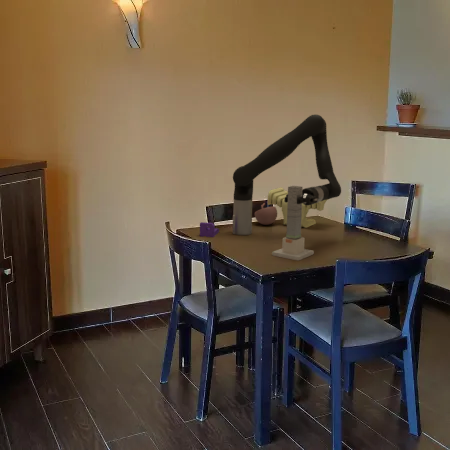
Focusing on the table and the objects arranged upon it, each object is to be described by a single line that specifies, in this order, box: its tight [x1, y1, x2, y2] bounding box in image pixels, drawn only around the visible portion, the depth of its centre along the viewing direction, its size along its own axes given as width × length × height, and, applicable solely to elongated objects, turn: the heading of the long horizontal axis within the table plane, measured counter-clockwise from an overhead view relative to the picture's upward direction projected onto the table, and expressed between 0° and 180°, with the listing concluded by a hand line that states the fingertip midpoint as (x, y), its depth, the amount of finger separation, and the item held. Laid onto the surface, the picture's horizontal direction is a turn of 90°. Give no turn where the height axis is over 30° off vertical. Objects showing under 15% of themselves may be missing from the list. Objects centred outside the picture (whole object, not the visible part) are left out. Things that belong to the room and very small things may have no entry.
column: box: [285, 185, 303, 239], centre depth 245 cm, size 5×5×22 cm
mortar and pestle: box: [254, 202, 278, 226], centre depth 306 cm, size 12×12×12 cm
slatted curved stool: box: [267, 187, 329, 229], centre depth 306 cm, size 30×16×18 cm, turn 58°
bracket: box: [199, 221, 220, 238], centre depth 285 cm, size 12×7×7 cm, turn 167°
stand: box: [271, 236, 315, 262], centre depth 248 cm, size 13×13×8 cm
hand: (291, 200), depth 241 cm, fingers open, 5 cm apart
